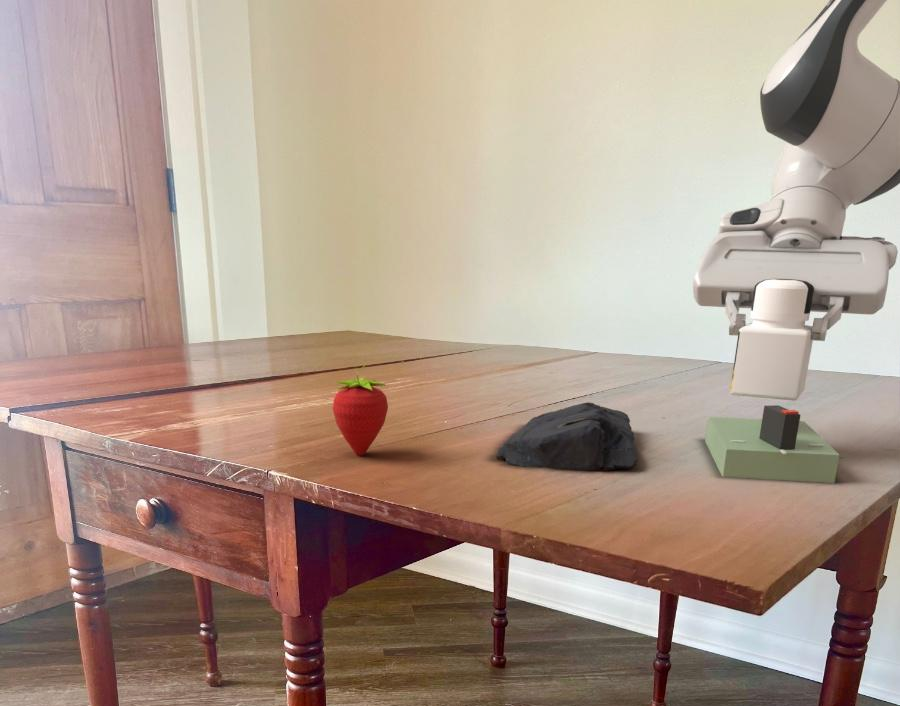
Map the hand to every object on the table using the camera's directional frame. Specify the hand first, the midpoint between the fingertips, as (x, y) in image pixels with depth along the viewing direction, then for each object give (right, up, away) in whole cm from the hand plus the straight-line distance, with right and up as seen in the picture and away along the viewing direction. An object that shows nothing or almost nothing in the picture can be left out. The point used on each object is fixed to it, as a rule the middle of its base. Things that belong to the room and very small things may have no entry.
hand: (775, 334), depth 94 cm
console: (-1, -13, +2) cm, 14 cm away
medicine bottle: (0, -6, +3) cm, 7 cm away
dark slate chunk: (-21, -11, +6) cm, 25 cm away
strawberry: (-45, -13, +2) cm, 47 cm away
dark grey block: (-1, -13, -4) cm, 13 cm away
